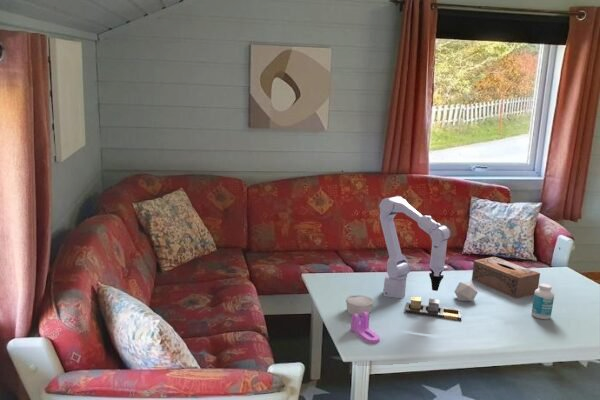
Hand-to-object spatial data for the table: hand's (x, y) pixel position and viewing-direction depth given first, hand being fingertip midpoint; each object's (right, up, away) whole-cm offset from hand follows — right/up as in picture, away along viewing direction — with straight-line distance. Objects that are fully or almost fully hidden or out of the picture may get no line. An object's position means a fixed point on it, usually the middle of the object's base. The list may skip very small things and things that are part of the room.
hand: (435, 287), depth 226 cm
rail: (-2, -11, -3) cm, 11 cm away
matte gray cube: (-2, -10, -3) cm, 10 cm away
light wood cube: (-8, -9, -1) cm, 13 cm away
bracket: (-31, -14, -23) cm, 42 cm away
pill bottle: (+44, -12, 0) cm, 45 cm away
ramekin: (-32, -10, -3) cm, 33 cm away
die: (+16, -8, +13) cm, 22 cm away
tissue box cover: (+40, -5, +32) cm, 52 cm away
